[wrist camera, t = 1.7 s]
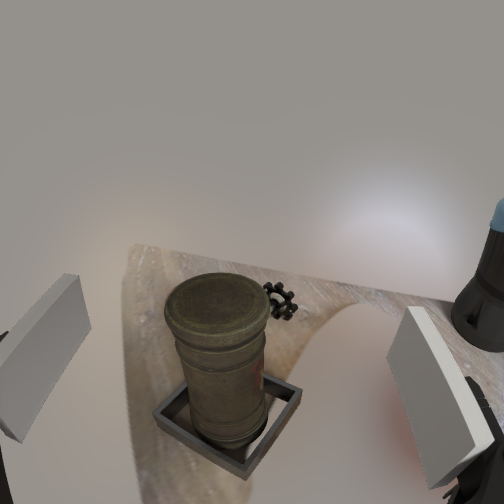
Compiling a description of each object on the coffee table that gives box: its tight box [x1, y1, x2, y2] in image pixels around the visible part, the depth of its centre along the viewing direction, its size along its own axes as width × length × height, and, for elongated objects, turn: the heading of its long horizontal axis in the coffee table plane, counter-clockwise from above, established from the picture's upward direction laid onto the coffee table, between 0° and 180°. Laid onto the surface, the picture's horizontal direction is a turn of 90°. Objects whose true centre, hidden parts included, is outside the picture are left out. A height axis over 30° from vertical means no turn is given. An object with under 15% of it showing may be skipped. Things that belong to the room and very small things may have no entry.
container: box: [164, 273, 270, 450], centre depth 29 cm, size 9×9×18 cm
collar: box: [152, 373, 303, 481], centre depth 33 cm, size 12×12×3 cm
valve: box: [263, 282, 298, 321], centre depth 44 cm, size 7×7×12 cm
